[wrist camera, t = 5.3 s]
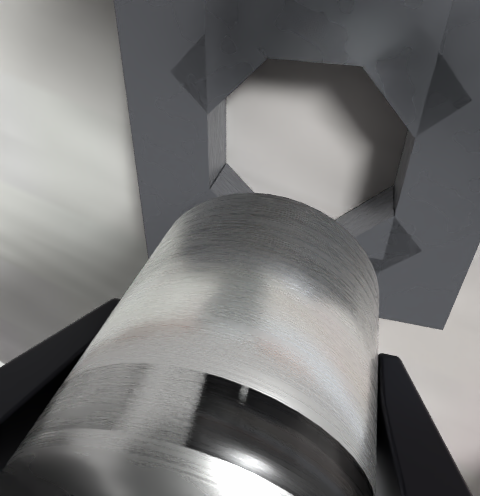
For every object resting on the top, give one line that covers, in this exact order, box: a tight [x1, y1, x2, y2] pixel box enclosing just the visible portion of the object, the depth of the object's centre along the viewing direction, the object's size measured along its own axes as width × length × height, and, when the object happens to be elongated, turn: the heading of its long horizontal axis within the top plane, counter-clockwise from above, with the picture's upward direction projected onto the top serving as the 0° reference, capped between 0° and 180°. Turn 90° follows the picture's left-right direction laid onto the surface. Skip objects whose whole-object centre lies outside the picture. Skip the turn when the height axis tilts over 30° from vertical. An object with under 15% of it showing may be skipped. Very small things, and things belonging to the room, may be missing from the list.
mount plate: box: [114, 0, 480, 330], centre depth 18 cm, size 14×14×2 cm
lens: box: [0, 193, 379, 496], centre depth 9 cm, size 6×6×6 cm
